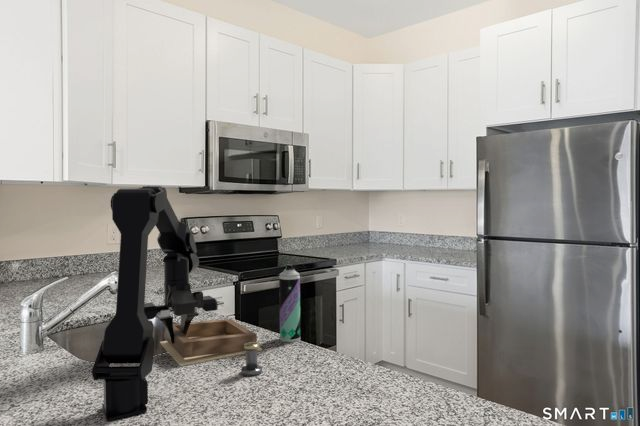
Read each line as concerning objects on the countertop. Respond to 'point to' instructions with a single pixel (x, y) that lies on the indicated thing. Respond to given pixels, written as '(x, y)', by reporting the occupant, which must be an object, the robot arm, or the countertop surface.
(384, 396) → the countertop surface
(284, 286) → the spray can
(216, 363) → the countertop surface
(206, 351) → the walnut frame
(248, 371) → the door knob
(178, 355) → the cork mat
